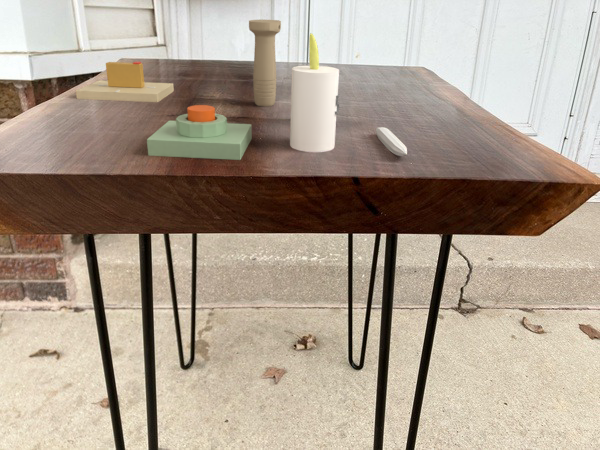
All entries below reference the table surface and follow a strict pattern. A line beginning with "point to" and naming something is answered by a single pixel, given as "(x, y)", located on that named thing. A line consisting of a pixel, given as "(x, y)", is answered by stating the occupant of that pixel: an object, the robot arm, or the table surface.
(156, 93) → the plate
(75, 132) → the table surface
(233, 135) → the green button mount
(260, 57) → the handle
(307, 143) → the candle
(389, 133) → the white faceted rod
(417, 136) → the table surface
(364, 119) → the table surface
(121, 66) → the thumbturn
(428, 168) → the table surface
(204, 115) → the bell button
